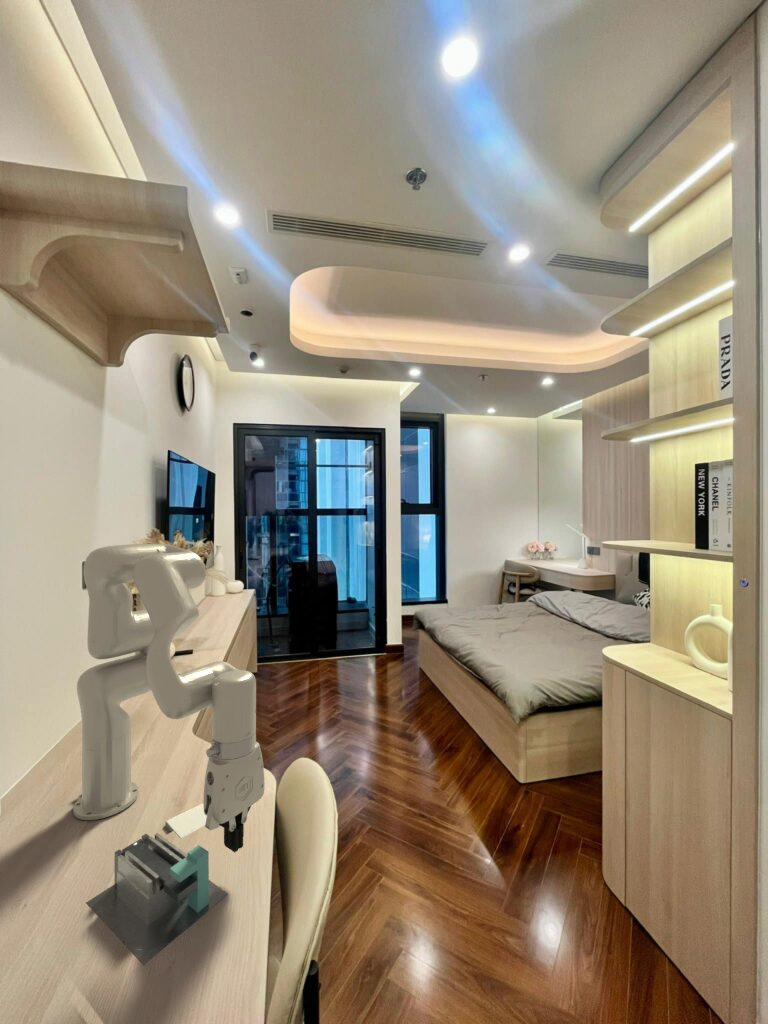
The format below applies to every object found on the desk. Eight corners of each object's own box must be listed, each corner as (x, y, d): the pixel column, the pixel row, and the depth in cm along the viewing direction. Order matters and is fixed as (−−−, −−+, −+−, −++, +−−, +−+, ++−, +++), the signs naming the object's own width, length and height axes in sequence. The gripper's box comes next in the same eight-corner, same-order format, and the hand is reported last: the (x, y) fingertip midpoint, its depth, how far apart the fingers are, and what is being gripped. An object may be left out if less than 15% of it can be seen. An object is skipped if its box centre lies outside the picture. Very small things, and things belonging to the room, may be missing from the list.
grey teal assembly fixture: (86, 908, 72) (86, 863, 72) (168, 854, 84) (168, 815, 84) (143, 971, 62) (143, 918, 62) (228, 900, 73) (228, 855, 74)
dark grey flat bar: (121, 856, 77) (121, 848, 77) (139, 845, 79) (139, 837, 79) (177, 903, 67) (177, 893, 67) (197, 888, 69) (197, 879, 69)
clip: (170, 918, 69) (169, 864, 69) (198, 895, 73) (198, 844, 73) (179, 927, 68) (179, 872, 68) (208, 903, 72) (208, 851, 72)
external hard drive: (165, 828, 92) (221, 799, 101) (181, 847, 86) (239, 815, 96) (165, 820, 92) (221, 792, 101) (181, 838, 86) (239, 807, 96)
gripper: (209, 769, 70) (209, 885, 70) (280, 732, 82) (280, 830, 82) (183, 755, 74) (182, 864, 74) (254, 721, 87) (253, 815, 86)
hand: (233, 846), depth 78 cm, fingers closed
